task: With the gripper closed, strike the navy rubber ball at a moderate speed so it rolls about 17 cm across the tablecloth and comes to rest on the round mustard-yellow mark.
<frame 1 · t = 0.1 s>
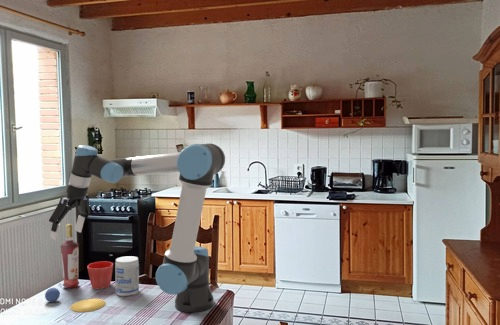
hand: (66, 234, 173), 28 cm above the table, tool tilted 20°, fingers open, 13 cm apart
supplement tub: (127, 293, 187), on the table
liquor: (71, 287, 195), on the table
ball: (52, 294, 177), on the table
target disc: (88, 305, 173), on the table
flower pot: (101, 286, 195), on the table
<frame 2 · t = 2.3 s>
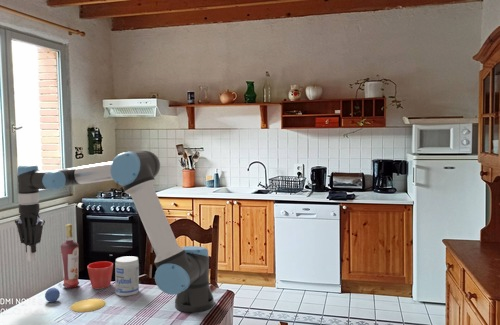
hand: (31, 260, 179), 16 cm above the table, tool pointing down, fingers closed
nothing on the table moved.
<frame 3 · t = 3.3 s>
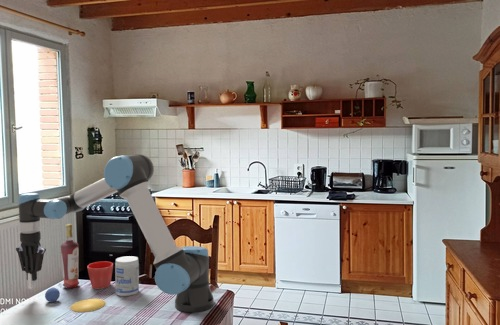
hand: (32, 287, 180), 5 cm above the table, tool pointing down, fingers closed
nothing on the table moved.
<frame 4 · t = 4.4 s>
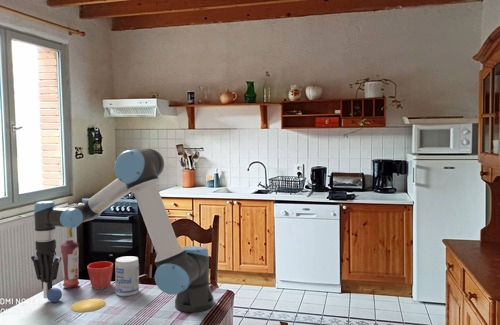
hand: (47, 296, 178), 2 cm above the table, tool pointing down, fingers closed
ball: (54, 295, 177), on the table, touching gripper
everything else where it was.
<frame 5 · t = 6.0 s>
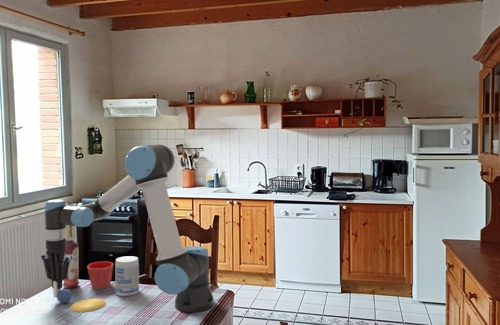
hand: (57, 296, 177), 2 cm above the table, tool pointing down, fingers closed
ball: (64, 296, 176), on the table, touching gripper
everything else where it was.
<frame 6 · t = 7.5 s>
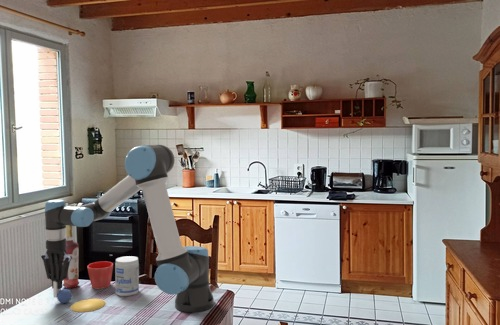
hand: (57, 296, 177), 2 cm above the table, tool pointing down, fingers closed
nothing on the table moved.
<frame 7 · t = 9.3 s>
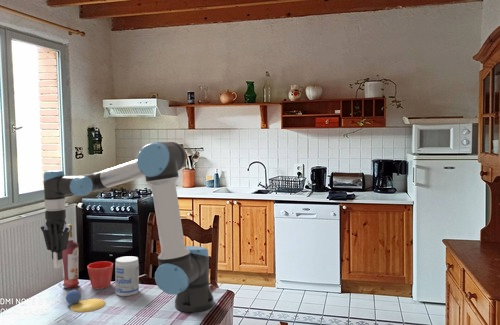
hand: (57, 267, 176), 14 cm above the table, tool pointing down, fingers closed
ball: (73, 297, 175), on the table
everything else where it was.
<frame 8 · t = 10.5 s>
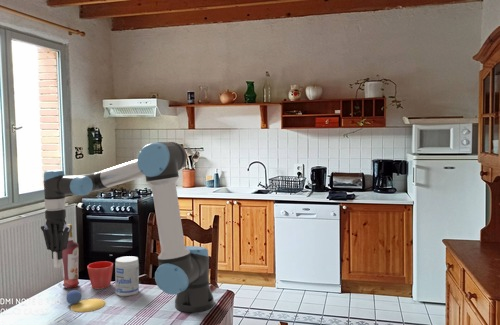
hand: (57, 267, 176), 14 cm above the table, tool pointing down, fingers closed
nothing on the table moved.
at the end: ball 6.4 cm from the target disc (horizontally); ball at rest at the end (0.0 cm/s); ball moved 10.2 cm from its start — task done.
